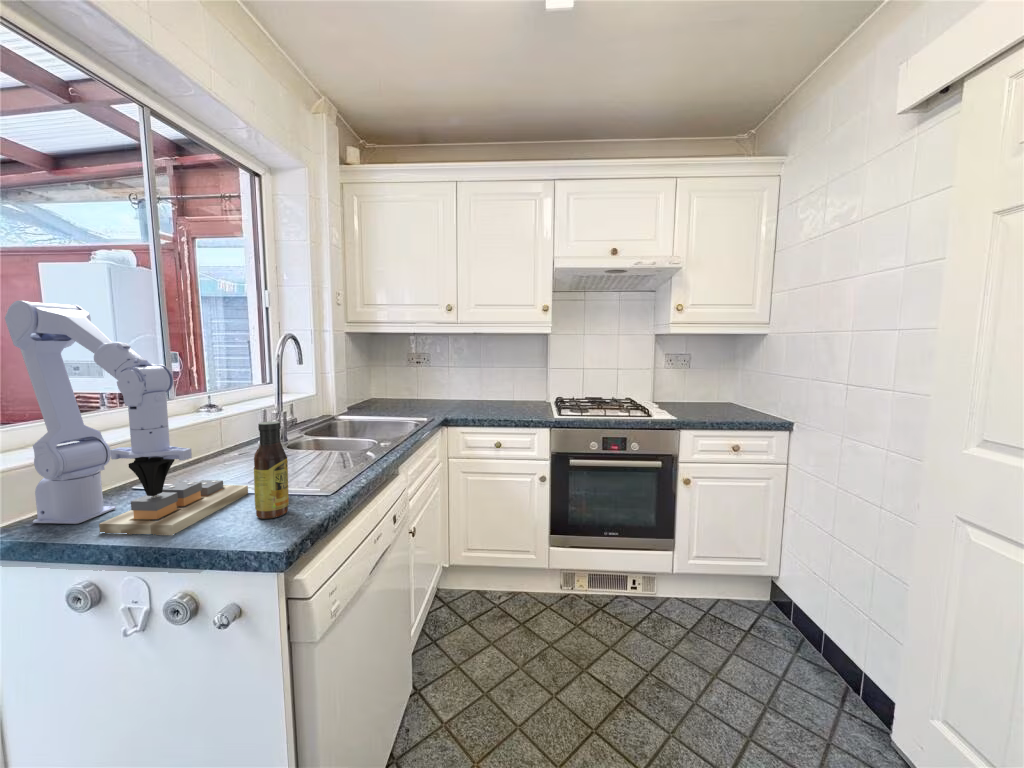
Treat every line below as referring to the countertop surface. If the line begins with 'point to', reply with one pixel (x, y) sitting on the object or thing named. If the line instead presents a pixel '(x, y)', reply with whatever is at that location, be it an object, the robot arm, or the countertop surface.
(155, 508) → the grey square block
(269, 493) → the sauce bottle
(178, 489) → the two-dot tile
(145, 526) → the beige drawer frame
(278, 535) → the countertop surface
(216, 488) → the three-dot tile
